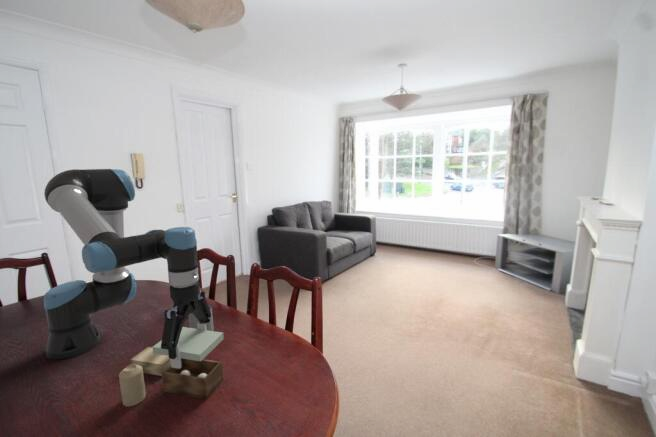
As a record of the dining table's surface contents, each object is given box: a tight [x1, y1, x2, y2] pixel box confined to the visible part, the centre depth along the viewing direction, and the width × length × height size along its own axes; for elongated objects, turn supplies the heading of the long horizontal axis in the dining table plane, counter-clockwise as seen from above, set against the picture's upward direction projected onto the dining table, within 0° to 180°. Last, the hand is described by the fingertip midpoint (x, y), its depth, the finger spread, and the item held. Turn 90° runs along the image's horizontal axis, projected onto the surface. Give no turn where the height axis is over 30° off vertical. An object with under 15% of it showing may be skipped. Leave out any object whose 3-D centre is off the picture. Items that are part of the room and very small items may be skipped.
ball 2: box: [198, 373, 207, 378], centre depth 88 cm, size 3×3×3 cm
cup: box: [187, 304, 214, 331], centre depth 117 cm, size 8×8×10 cm
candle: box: [118, 363, 147, 408], centre depth 83 cm, size 6×6×10 cm
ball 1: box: [180, 370, 191, 376], centre depth 89 cm, size 3×3×3 cm
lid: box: [152, 326, 225, 362], centre depth 87 cm, size 15×11×2 cm
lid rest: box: [130, 346, 171, 377], centre depth 98 cm, size 12×7×4 cm, turn 77°
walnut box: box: [161, 358, 224, 400], centre depth 89 cm, size 14×8×6 cm, turn 77°
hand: (190, 354), depth 88 cm, fingers closed on lid, 11 cm apart
